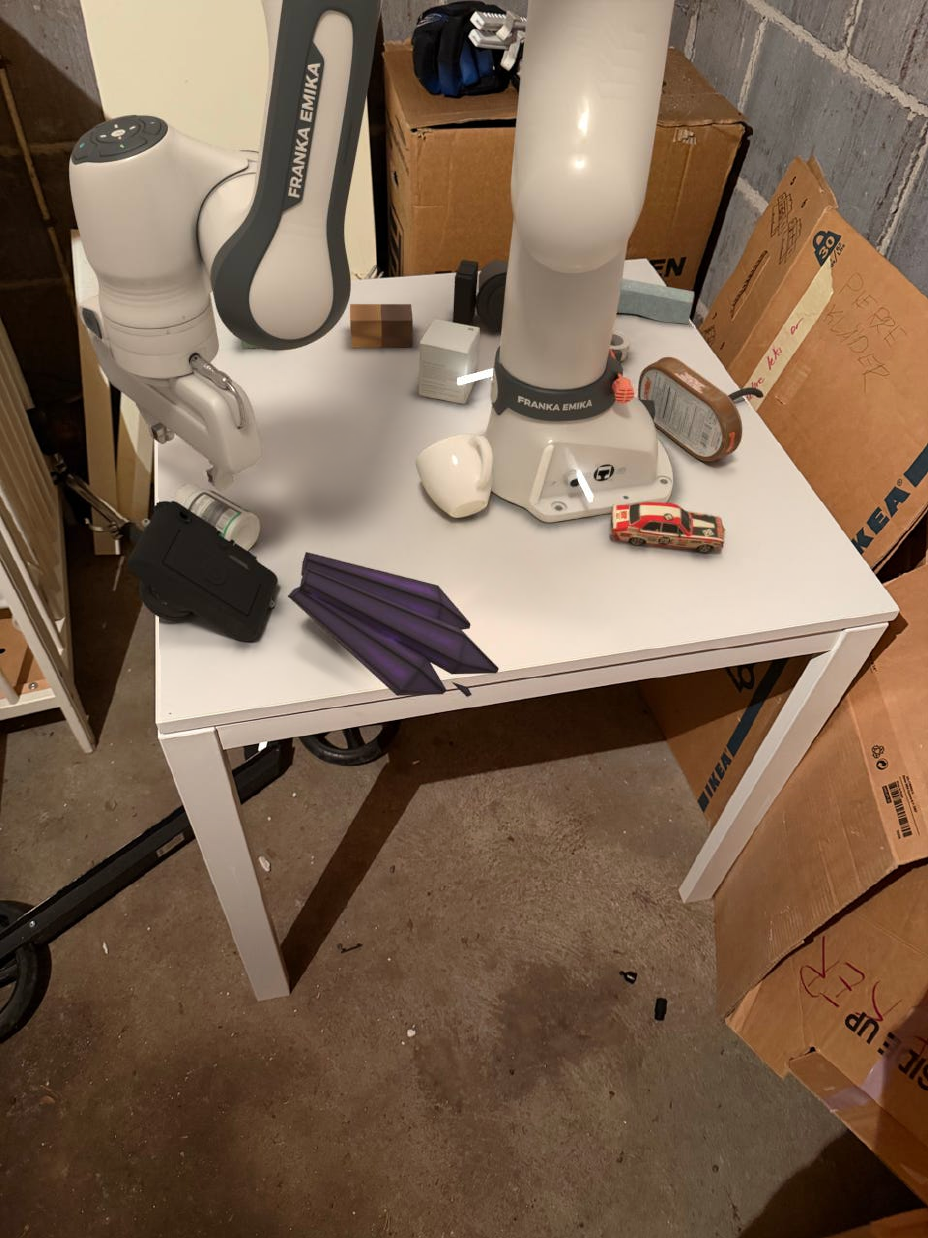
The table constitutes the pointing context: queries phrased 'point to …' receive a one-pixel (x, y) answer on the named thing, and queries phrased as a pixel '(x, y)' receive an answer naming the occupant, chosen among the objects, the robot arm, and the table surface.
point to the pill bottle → (220, 514)
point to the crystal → (390, 624)
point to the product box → (448, 360)
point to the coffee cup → (492, 294)
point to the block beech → (366, 325)
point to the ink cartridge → (465, 292)
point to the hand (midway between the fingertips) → (191, 461)
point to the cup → (457, 473)
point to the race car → (666, 526)
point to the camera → (200, 573)
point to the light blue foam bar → (655, 301)
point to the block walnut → (397, 326)
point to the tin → (691, 409)
